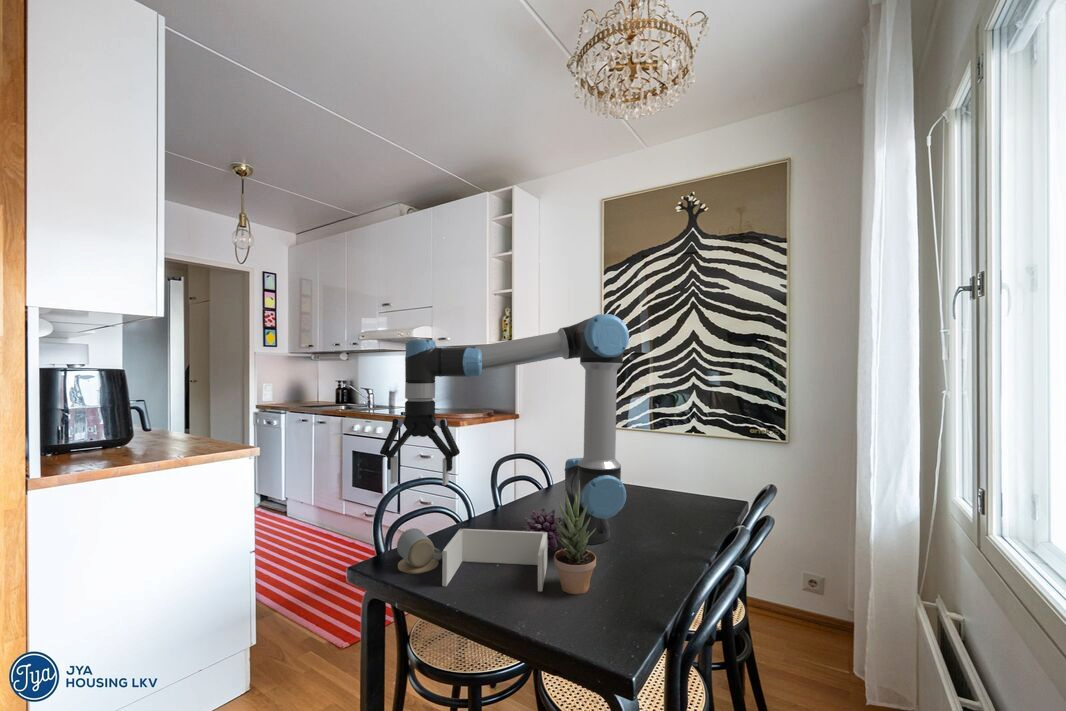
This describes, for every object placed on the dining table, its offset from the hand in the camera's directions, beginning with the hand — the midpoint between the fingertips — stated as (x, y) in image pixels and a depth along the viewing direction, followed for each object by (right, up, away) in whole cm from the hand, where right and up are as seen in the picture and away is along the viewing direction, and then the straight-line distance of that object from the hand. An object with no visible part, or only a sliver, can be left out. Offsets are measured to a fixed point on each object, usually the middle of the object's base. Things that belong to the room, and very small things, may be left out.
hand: (419, 483), depth 119 cm
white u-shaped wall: (+20, -21, -6) cm, 30 cm away
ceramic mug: (0, -20, 0) cm, 20 cm away
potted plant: (+39, -21, -13) cm, 46 cm away
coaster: (0, -21, -1) cm, 21 cm away
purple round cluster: (+32, -21, +8) cm, 39 cm away
